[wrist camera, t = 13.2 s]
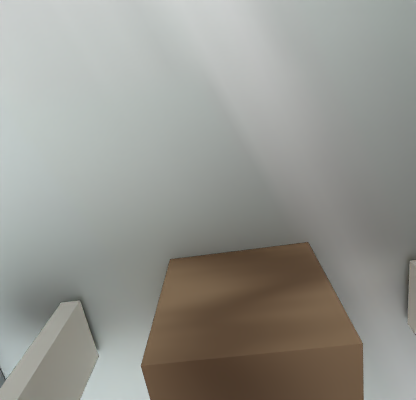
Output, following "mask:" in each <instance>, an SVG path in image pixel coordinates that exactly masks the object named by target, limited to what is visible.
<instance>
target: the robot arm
mask: <svg viewBox="0 0 416 400" xmlns="http://www.w3.org/2000/svg"><path fill="white" fill-rule="evenodd" d="M407 324H408V326H409V327H410V328H411V330H412V331H413V332H414V334H415V335H416V260H413V261H410V266H409V293H408V320H407ZM98 357H99V355H98V352H97V349H96V346H95V343H94V341H93V338H92V335H91V332H90V329H89V326H88V323H87V320H86V317H85V314H84V311H83V308H82V305H81V302H80V300H78V301H70V302H62V303H60V305H59V306H58V308H57V309H56V310H55V312H54V313H53V315H52V316H51V317H50V319H49V320H48V322H47V323H46V324H45V326H44V327H43V329H42V330H41V332H40V333H39V334H38V336H37V337H36V339H35V340H34V341H33V343H32V344H31V346H30V347H29V348H28V350H27V351H26V353H25V354H24V355H23V357H22V358H21V360H20V361H19V363H18V364H17V365H16V367H15V368H14V370H13V371H12V372H11V374H10V375H9V377H8V378H7V379H6V381H5V382H4V384H3V385H2V386H1V388H0V400H80V398H81V396H82V394H83V391H84V389H85V387H86V385H87V382H88V380H89V378H90V375H91V373H92V371H93V369H94V366H95V364H96V362H97V359H98Z"/></svg>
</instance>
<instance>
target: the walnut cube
mask: <svg viewBox="0 0 416 400" xmlns="http://www.w3.org/2000/svg"><path fill="white" fill-rule="evenodd" d="M141 368H142V372H143V375H144V379H145V382H146V386H147V389H148V393H149V396H150V400H364V395H363V343H362V341H361V339H360V337H359V335H358V334H357V332H356V330H355V328H354V326H353V324H352V322H351V321H350V319H349V317H348V315H347V313H346V311H345V310H344V308H343V306H342V304H341V302H340V300H339V298H338V297H337V295H336V293H335V291H334V289H333V287H332V285H331V284H330V282H329V280H328V278H327V276H326V274H325V272H324V271H323V269H322V267H321V265H320V263H319V261H318V259H317V258H316V256H315V254H314V252H313V250H312V248H311V247H310V245H309V243H308V242H305V243H297V244H289V245H281V246H273V247H265V248H257V249H249V250H241V251H233V252H225V253H217V254H209V255H201V256H193V257H185V258H177V259H170V261H169V265H168V269H167V272H166V276H165V280H164V283H163V287H162V290H161V294H160V298H159V301H158V305H157V309H156V312H155V316H154V320H153V323H152V327H151V331H150V334H149V338H148V342H147V345H146V349H145V353H144V356H143V360H142V363H141Z"/></svg>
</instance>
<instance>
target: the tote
mask: <svg viewBox="0 0 416 400" xmlns="http://www.w3.org/2000/svg"><path fill="white" fill-rule="evenodd" d="M4 382H5V379H4V376H3V374H2V372H1V370H0V388H1V386H2V385H3V384H4Z"/></svg>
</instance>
